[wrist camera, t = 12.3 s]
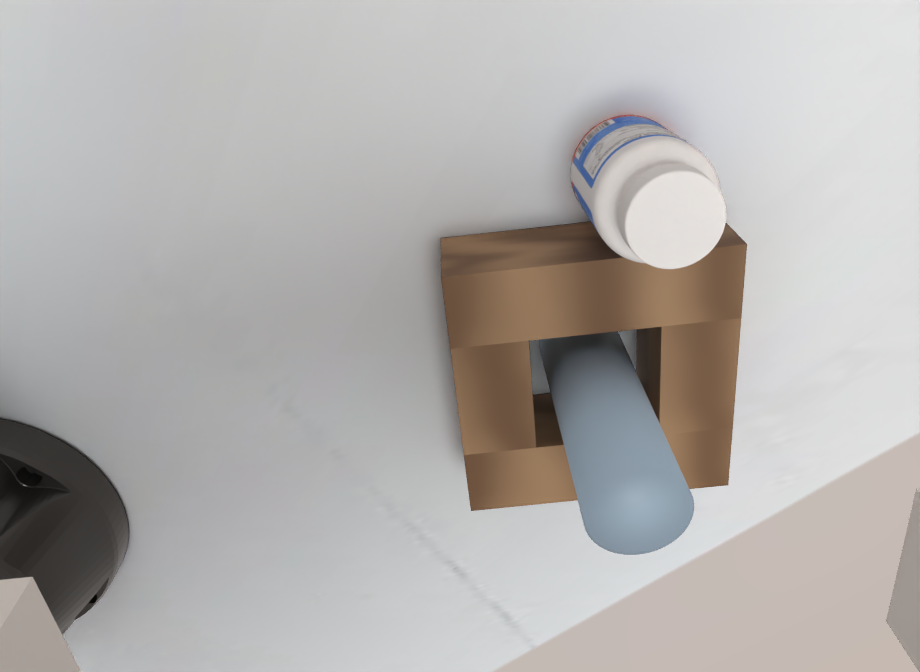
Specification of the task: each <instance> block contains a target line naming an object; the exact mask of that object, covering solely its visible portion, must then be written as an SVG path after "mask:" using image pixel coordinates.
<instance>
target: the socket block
mask: <svg viewBox="0 0 920 672" xmlns="http://www.w3.org/2000/svg"><path fill="white" fill-rule="evenodd" d="M746 250H747V244H746V243H745V242H744V241H743V240H742V239H741V238H740V237H739V236H738V235H737V233H736V232H735V231H734V230H733V229H732V228H731V227H730V226H729V225H728V224H727V223H725V227H724V231H723V233H722V235H721V238H720V240H719V241H718V243H717V244H716V246H715V247H714V248H713V249H712V250H711V251H710V252H709V253H708V254H707V255H706V256H705V257H703V258H702V259H701V260H699V261H697V262H696V263H694V264H691V265H689V266H686V267H682V268H678V269H661V268H657V267H653V266H651V265H648V264H646V263H639V262H635V261H631V260H629V259H626V258H624V257H622V256H620V255H619V254H617V253H616V252H614V251H613V250H612V249H611V248H610V247H609V246H608V245H607V244H606V243H605V242H604V240H603V239H602V238H601V236H600V235H599V233H598V232H597V230H596V228H595V227H594V225H593V224H592V222H584V223H575V224H565V225H556V226H547V227H538V228H529V229H520V230H511V231H502V232H492V233H483V234H474V235H465V236H456V237H447V238H441V280H442V288H443V296H444V304H445V311H446V319H447V327H448V335H449V343H450V350H451V358H452V366H453V374H454V382H455V389H456V397H457V405H458V413H459V421H460V428H461V436H462V444H463V452H464V460H465V467H466V475H467V483H468V491H469V499H470V506H471V511H474V510H484V509H494V508H504V507H514V506H524V505H534V504H544V503H554V502H564V501H574V500H578V499H577V495H576V491H575V487H574V483H573V479H572V475H571V471H570V467H569V463H568V459H567V455H566V451H565V447H564V443H563V439H562V435H561V431H560V427H559V423H558V419H557V415H556V411H555V407H554V404H553V400H552V396H551V393H548V394H539V395H533V394H532V380H531V366H530V352H529V341H530V340H540V339H549V338H559V337H568V336H578V335H587V334H596V333H606V332H615V331H625V330H634V329H637V375H638V377H639V379H640V382H641V384H642V386H643V388H644V390H645V393H646V395H647V397H648V399H649V401H650V404H651V406H652V408H653V410H654V412H655V415H656V417H657V419H658V421H659V423H660V426H661V428H662V430H663V432H664V434H665V437H666V439H667V441H668V443H669V445H670V448H671V450H672V452H673V454H674V456H675V459H676V461H677V463H678V465H679V467H680V470H681V472H682V474H683V476H684V478H685V481H686V483H687V485H688V487H689V489H694V488H704V487H714V486H724V485H728V480H729V467H730V454H731V442H732V429H733V416H734V403H735V390H736V378H737V365H738V352H739V339H740V327H741V314H742V301H743V288H744V276H745V263H746Z"/></svg>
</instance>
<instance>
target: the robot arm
mask: <svg viewBox="0 0 920 672" xmlns="http://www.w3.org/2000/svg"><path fill="white" fill-rule="evenodd" d="M128 539H129V529H128V521H127V517H126V513H125V510H124V507H123V505H122V502H121V500H120V498H119V496H118V495H117V493H116V491H115V490H114V488H113V487H112V485H111V484H110V482H109V481H108V480H107V479H106V477H105V476H104V475H103V474H102V473H101V472H100V471H99V470H98V469H97V468H96V467H95V466H94V465H93V464H92V463H91V462H90V461H89V460H88V459H87V458H85V457H84V456H83V455H81V454H80V453H79V452H77V451H76V450H74V449H73V448H72V447H70V446H68V445H67V444H65V443H63V442H62V441H60V440H58V439H56V438H54V437H52V436H50V435H48V434H46V433H44V432H42V431H39V430H37V429H34V428H31V427H28V426H25V425H22V424H19V423H15V422H12V421H7V420H3V419H0V672H81V671H80V669H79V667H78V665H77V663H76V661H75V659H74V657H73V655H72V653H71V651H70V649H69V647H68V645H67V643H66V641H65V639H64V637H63V635H62V634H63V633H64V632H65V631H66V630H67V629H68V628H69V627H70V625H71V624H72V623H73V621H74V620H75V619H77V618H79V617H80V616H82V615H83V614H85V613H86V612H87V611H88V610H90V609H91V608H92V607H93V606H94V605H95V604H96V603H97V602H98V601H99V600H100V599H101V597H102V596H103V595H104V594H105V592H106V591H107V589H108V588H109V586H110V585H111V583H112V581H113V579H114V577H115V575H116V573H117V571H118V569H119V567H120V565H121V563H122V561H123V559H124V556H125V553H126V550H127V546H128ZM886 621H887V623H888V625H889V626H890V628H891V629H892V631H893V632H894V634H895V636H896V637H897V639H898V640H899V642H900V643H901V644H902V646H903V648H904V649H905V651H906V652H907V654H908V656H909V657H910V659H911V660H912V662H913V663H914V665H915V666H916V668H917V669H918V671H919V672H920V489H916V492H915V497H914V501H913V505H912V510H911V514H910V519H909V523H908V527H907V532H906V536H905V541H904V545H903V549H902V554H901V558H900V563H899V567H898V571H897V575H896V580H895V584H894V589H893V593H892V597H891V602H890V606H889V611H888V615H887V619H886Z"/></svg>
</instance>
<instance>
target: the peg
mask: <svg viewBox="0 0 920 672" xmlns="http://www.w3.org/2000/svg"><path fill="white" fill-rule="evenodd" d="M540 352H541V356H542V360H543V364H544V368H545V372H546V376H547V380H548V384H549V388H550V392H551V396H552V400H553V404H554V407H555V411H556V415H557V419H558V423H559V427H560V431H561V435H562V439H563V443H564V447H565V451H566V455H567V459H568V463H569V467H570V471H571V475H572V479H573V483H574V487H575V491H576V495H577V499H578V503H579V507H580V511H581V515H582V519H583V522H584V526H585V529H586V532H587V533H588V535H589V537H590V538H591V539H592V540H593V541H594V542H595V543H596V544H597V545H599V546H600V547H602V548H604V549H606V550H608V551H611V552H614V553H618V554H626V555H636V554H644V553H649V552H652V551H655V550H658V549H661V548H663V547H665V546H667V545H668V544H670V543H672V542H673V541H674V540H676V539H677V538H678V537H679V536H680V535H681V534H682V533H683V532H684V531H685V530H686V528H687V527H688V525H689V523H690V521H691V519H692V516H693V512H694V501H693V496H692V494H691V492H690V489H689V487H688V485H687V483H686V481H685V478H684V476H683V474H682V472H681V470H680V467H679V465H678V463H677V461H676V459H675V456H674V454H673V452H672V450H671V448H670V445H669V443H668V441H667V439H666V437H665V434H664V432H663V430H662V428H661V426H660V423H659V421H658V419H657V417H656V415H655V412H654V410H653V408H652V406H651V404H650V401H649V399H648V397H647V395H646V393H645V390H644V388H643V386H642V384H641V382H640V379H639V377H638V375H637V373H636V371H635V368H634V366H633V364H632V362H631V360H630V357H629V355H628V353H627V351H626V349H625V346H624V344H623V342H622V340H621V338H620V335H619V333H618V331H615V332H606V333H596V334H587V335H578V336H568V337H559V338H549V339H540Z"/></svg>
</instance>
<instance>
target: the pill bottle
mask: <svg viewBox="0 0 920 672" xmlns="http://www.w3.org/2000/svg"><path fill="white" fill-rule="evenodd" d="M570 175H571V184H572V188H573V191H574V193H575V196H576V198H577V200H578V202H579V203H580V205H581V206H582V208H583V209H584V211H585V212H586V214H587V216H588V217H589V219H590V220H591V222H592V224H593V225H594V227H595V228H596V230H597V232H598V233H599V235H600V236H601V238H602V239H603V240H604V242H605V243H606V244H607V245H608V246H609V247H610V248H611V249H612V250H613V251H614V252H616V253H617V254H619V255H620V256H622V257H624V258H626V259H629V260H631V261H635V262H639V263H646V264H648V265H651V266H653V267H657V268H661V269H678V268H682V267H686V266H689V265H691V264H694V263H696V262H697V261H699V260H701V259H702V258H703V257H705V256H706V255H707V254H708V253H709V252H710V251H711V250H712V249H713V248H714V247H715V246H716V244H717V243H718V241H719V240H720V238H721V235H722V233H723V231H724V227H725V223H726V205H725V201H724V198H723V196H722V193H721V191H720V184H719V179H718V176H717V174H716V171H715V169H714V167H713V166H712V164H711V163H710V161H709V160H708V159H707V157H706V156H705V155H704V154H703V153H702V152H700V151H699V150H698V149H696V148H695V147H694V146H692V145H691V144H689V143H688V142H686V141H685V140H683V139H681V138H680V137H678V136H677V135H675V134H674V133H672V132H670V131H669V130H667V129H666V128H664V127H662V126H661V125H660V124H658V123H656V122H655V121H653V120H650V119H648V118H645V117H641V116H634V115H624V116H618V117H613V118H610V119H607V120H605V121H603V122H601V123H600V124H598V125H597V126H595V127H594V128H593V129H591V130H590V131H589V132H588V133H587V134H586V135H585V136H584V138H583V139H582V140H581V142H580V143H579V145H578V147H577V149H576V151H575V153H574V156H573V159H572V163H571V171H570Z"/></svg>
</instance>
